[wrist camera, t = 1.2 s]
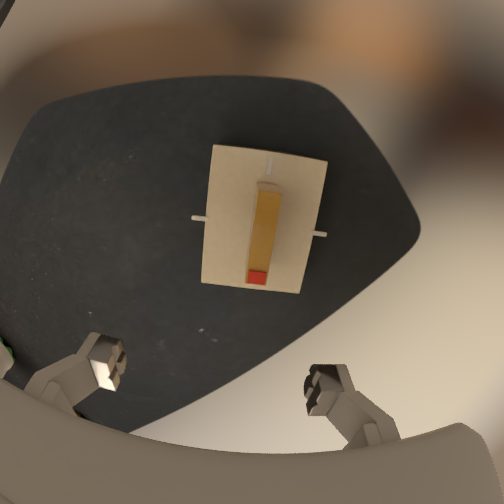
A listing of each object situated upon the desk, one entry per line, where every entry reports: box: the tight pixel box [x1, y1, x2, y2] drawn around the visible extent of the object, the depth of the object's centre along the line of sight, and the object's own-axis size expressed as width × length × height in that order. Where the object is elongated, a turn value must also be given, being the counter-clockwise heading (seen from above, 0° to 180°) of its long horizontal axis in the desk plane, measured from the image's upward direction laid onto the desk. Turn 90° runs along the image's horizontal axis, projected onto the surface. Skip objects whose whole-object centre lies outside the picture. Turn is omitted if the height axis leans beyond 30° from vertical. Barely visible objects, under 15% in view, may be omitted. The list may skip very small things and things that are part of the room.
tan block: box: [192, 144, 328, 293], centre depth 24 cm, size 12×11×4 cm
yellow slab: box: [245, 182, 282, 286], centre depth 21 cm, size 7×2×4 cm, turn 172°
